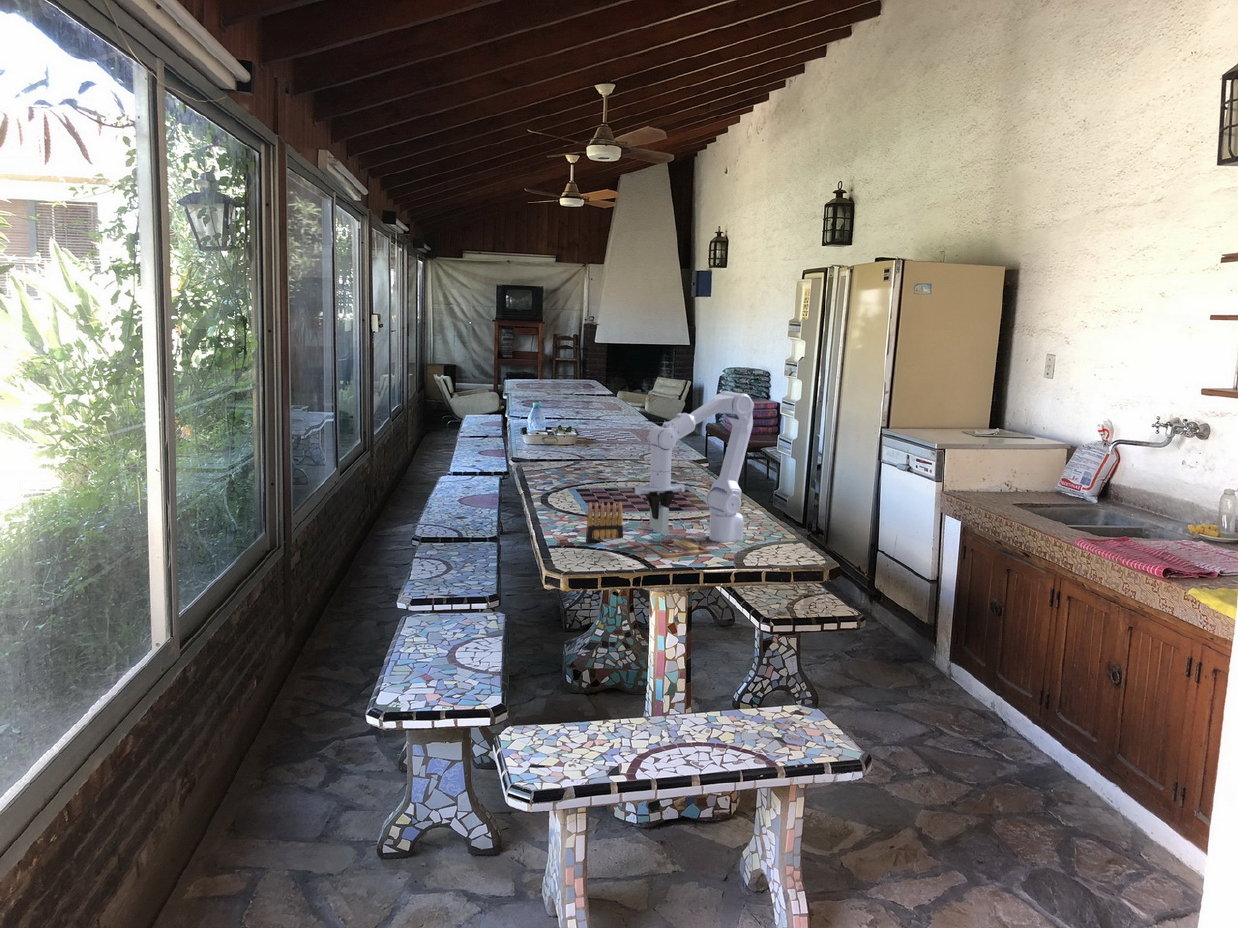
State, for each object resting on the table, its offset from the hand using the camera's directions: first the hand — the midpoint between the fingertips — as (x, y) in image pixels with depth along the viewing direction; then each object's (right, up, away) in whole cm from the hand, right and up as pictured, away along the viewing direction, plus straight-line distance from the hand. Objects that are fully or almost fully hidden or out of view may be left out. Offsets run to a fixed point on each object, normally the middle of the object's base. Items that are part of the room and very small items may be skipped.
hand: (659, 518), depth 241 cm
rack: (+4, -10, 0) cm, 11 cm away
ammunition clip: (-15, -8, +10) cm, 20 cm away
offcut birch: (+8, -9, +2) cm, 12 cm away
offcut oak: (+8, -8, +2) cm, 11 cm away
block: (0, -3, +1) cm, 3 cm away
